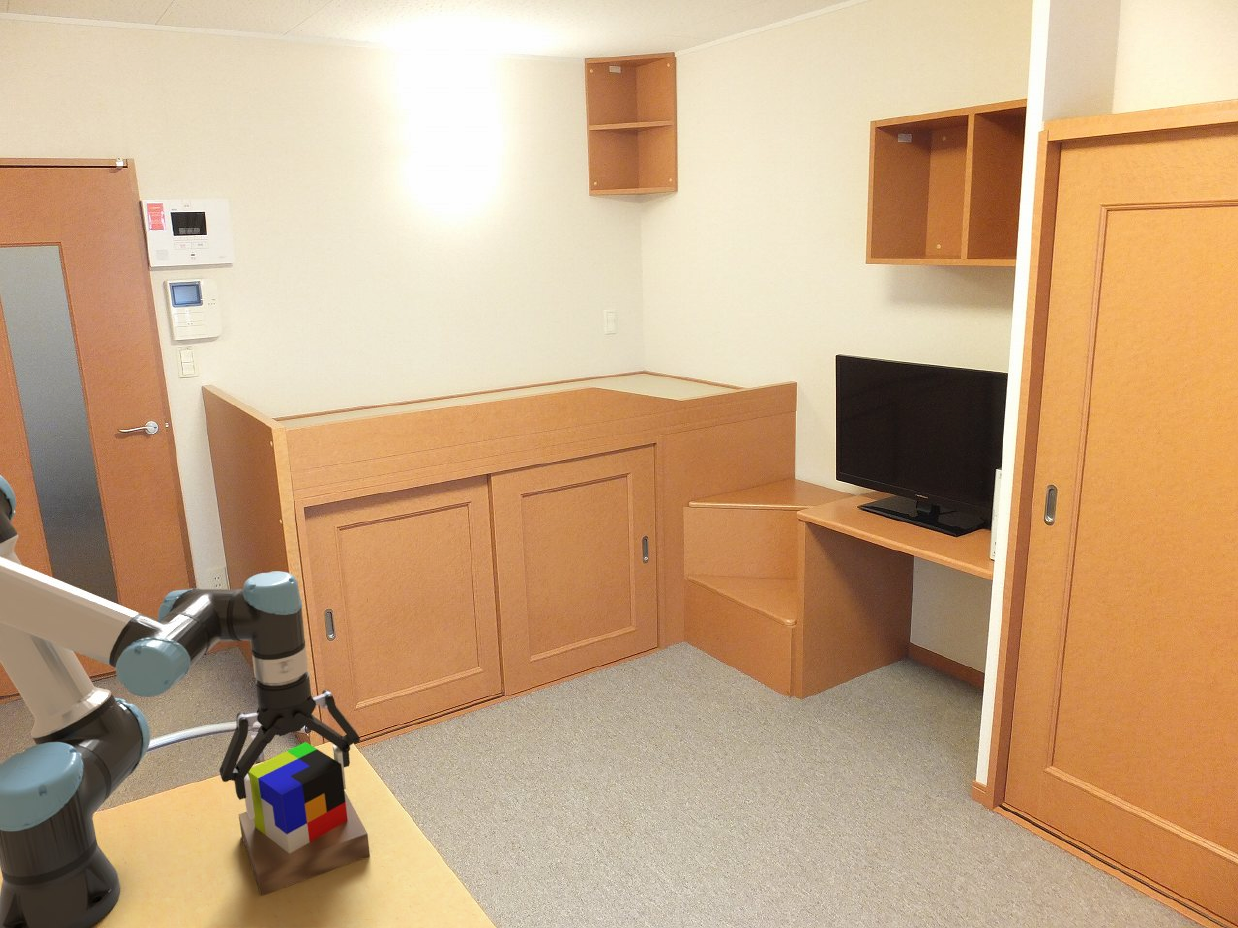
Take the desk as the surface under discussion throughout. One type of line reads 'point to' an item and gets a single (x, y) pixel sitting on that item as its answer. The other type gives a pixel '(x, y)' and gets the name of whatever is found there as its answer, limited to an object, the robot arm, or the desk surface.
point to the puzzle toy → (298, 796)
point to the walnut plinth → (303, 852)
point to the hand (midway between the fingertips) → (297, 799)
